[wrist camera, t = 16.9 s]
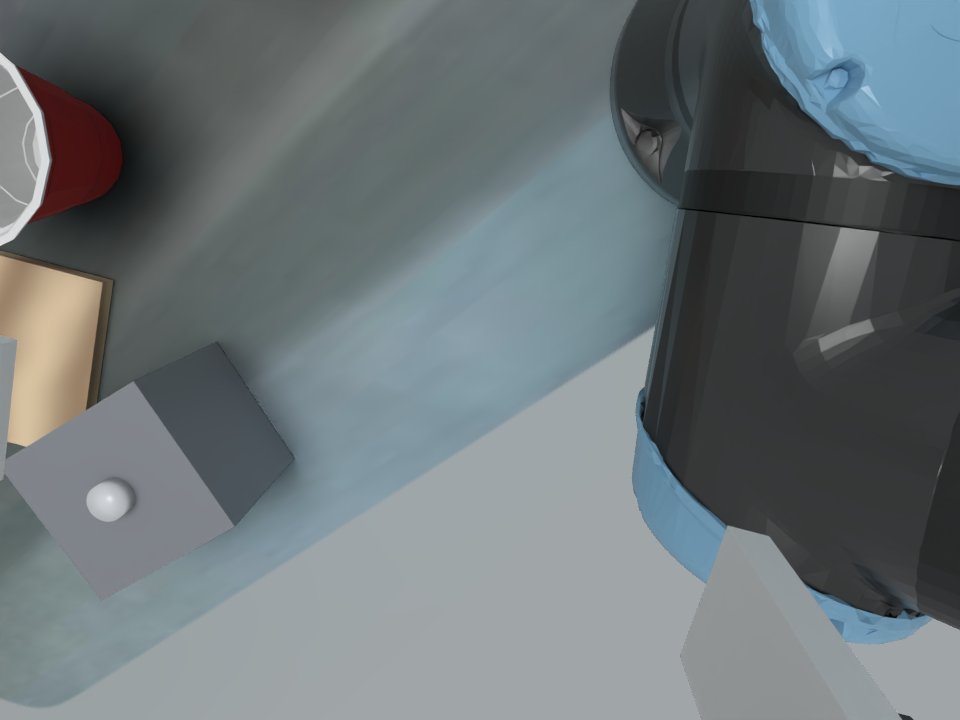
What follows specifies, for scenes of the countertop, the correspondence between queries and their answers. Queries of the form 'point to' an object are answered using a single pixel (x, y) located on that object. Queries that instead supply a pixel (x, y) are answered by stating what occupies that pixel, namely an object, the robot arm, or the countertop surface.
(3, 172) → the plastic cup
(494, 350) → the countertop surface
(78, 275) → the oak board
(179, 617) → the countertop surface
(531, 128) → the countertop surface
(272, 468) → the grey knobbed cube
